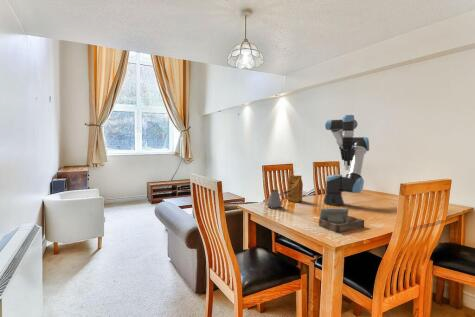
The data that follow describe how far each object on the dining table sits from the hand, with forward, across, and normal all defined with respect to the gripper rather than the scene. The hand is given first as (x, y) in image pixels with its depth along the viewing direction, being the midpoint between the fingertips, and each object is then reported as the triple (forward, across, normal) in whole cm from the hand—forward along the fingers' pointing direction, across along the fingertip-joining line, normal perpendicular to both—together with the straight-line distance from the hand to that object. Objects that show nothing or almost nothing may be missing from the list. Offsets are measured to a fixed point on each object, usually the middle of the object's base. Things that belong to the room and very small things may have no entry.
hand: (346, 170), depth 183 cm
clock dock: (+29, +22, -32) cm, 49 cm away
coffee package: (+30, -42, -11) cm, 53 cm away
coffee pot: (+30, -28, -38) cm, 56 cm away
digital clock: (+30, +20, -35) cm, 50 cm away
